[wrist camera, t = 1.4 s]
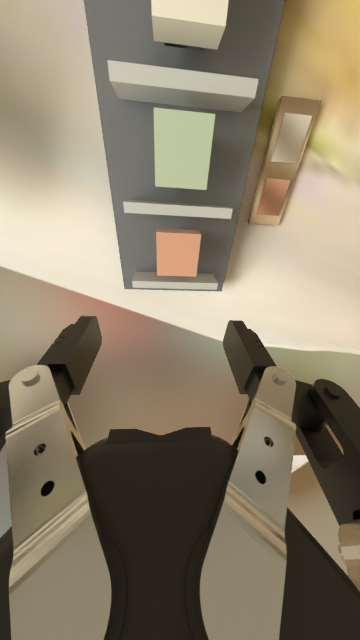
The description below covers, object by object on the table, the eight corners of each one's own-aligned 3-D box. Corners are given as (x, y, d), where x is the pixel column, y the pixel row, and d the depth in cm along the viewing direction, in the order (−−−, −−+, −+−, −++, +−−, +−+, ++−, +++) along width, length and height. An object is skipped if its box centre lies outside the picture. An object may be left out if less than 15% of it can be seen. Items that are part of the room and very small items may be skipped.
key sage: (156, 124, 18) (153, 107, 14) (205, 129, 18) (215, 114, 14) (157, 186, 21) (155, 186, 17) (199, 189, 21) (206, 189, 17)
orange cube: (157, 225, 23) (156, 231, 19) (195, 227, 24) (201, 234, 20) (158, 263, 26) (157, 275, 22) (192, 264, 26) (196, 276, 23)
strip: (278, 99, 19) (284, 95, 19) (316, 103, 20) (323, 99, 19) (247, 222, 27) (250, 223, 26) (275, 224, 27) (279, 225, 26)
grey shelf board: (72, -159, 12) (0, -426, 7) (295, -110, 13) (377, -303, 8) (127, 281, 31) (120, 299, 26) (217, 283, 32) (227, 301, 27)
